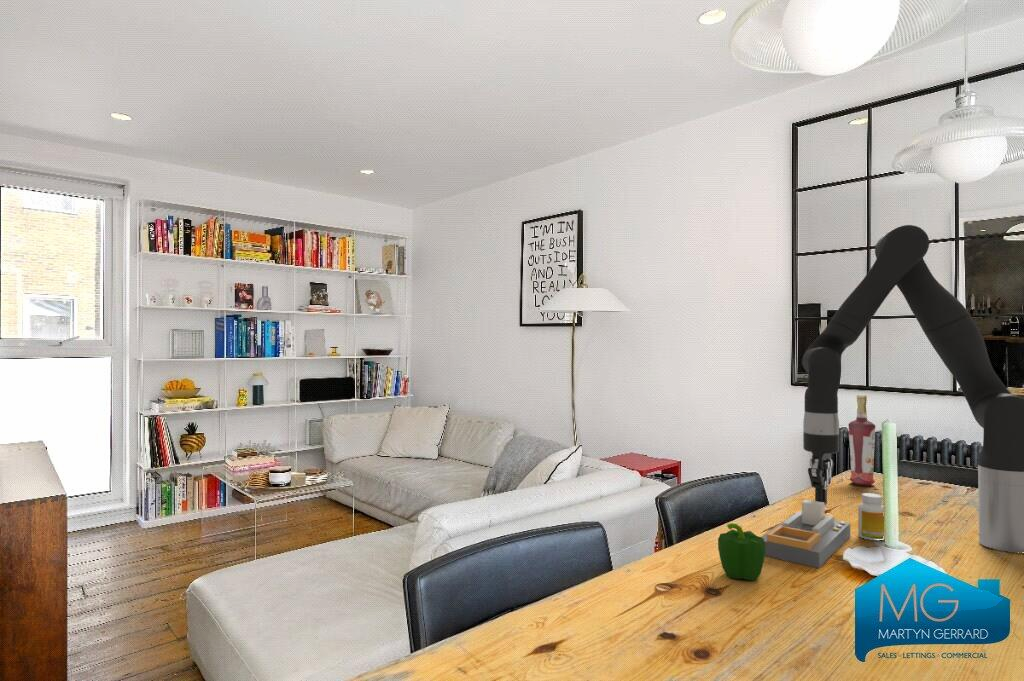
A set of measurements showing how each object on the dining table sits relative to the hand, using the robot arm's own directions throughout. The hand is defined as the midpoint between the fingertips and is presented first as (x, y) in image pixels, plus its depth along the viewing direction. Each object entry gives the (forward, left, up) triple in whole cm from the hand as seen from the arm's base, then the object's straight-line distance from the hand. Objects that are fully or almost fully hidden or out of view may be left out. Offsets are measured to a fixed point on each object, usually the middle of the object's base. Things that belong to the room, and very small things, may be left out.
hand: (821, 504), depth 140 cm
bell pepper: (+4, +40, -6) cm, 41 cm away
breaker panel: (0, +13, -6) cm, 14 cm away
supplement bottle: (-10, -2, -6) cm, 12 cm away
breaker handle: (0, +7, -3) cm, 8 cm away
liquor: (+3, -59, -6) cm, 59 cm away
